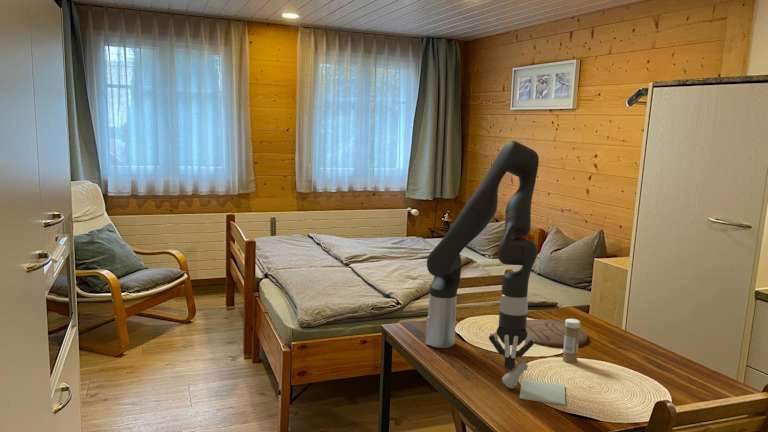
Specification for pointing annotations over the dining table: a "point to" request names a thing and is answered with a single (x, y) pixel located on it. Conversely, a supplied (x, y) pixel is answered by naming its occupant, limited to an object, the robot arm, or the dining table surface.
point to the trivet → (550, 333)
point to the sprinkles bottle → (571, 340)
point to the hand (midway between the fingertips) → (509, 368)
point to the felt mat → (542, 392)
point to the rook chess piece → (514, 375)
